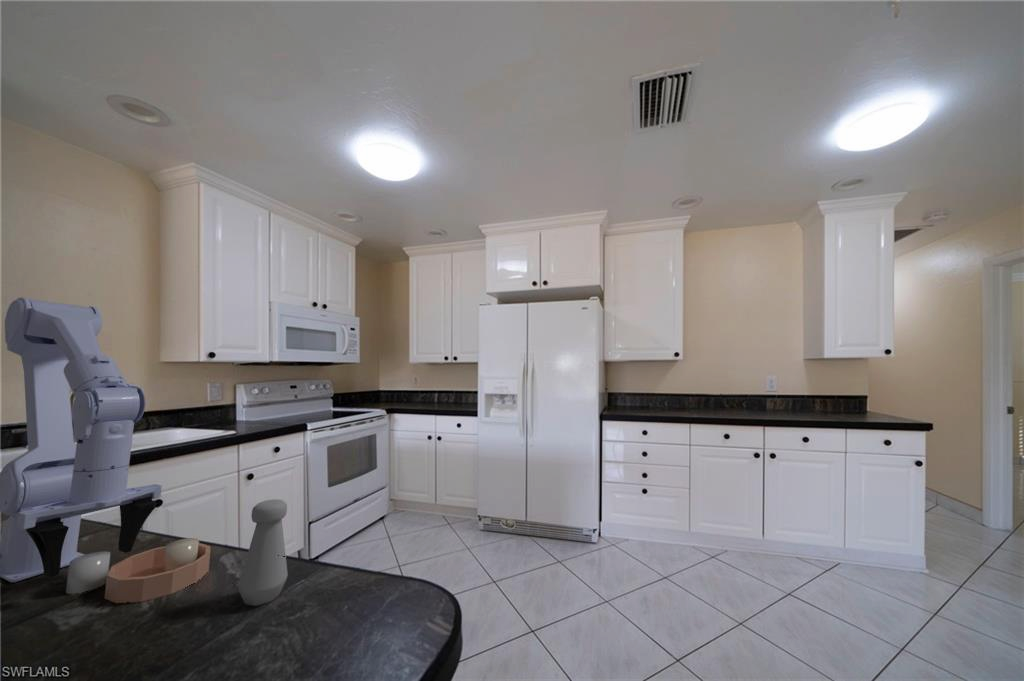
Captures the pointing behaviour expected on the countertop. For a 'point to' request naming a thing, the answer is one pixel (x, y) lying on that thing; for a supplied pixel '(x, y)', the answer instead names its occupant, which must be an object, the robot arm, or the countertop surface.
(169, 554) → the pebble
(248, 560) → the salt shaker
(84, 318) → the robot arm
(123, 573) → the bowl
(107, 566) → the pebble
